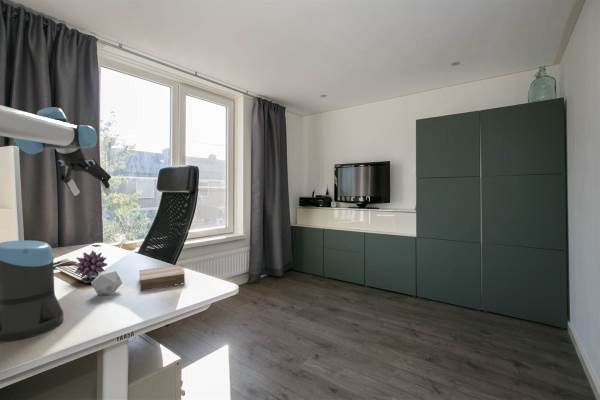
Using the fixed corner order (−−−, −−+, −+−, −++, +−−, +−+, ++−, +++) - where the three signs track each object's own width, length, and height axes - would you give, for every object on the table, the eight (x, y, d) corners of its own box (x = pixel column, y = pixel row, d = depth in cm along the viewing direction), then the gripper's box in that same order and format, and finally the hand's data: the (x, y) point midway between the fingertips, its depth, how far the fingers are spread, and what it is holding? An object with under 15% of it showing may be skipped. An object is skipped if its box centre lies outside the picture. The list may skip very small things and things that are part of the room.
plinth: (184, 283, 116) (184, 273, 116) (140, 291, 109) (140, 280, 109) (179, 274, 129) (178, 265, 129) (139, 279, 122) (139, 270, 122)
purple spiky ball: (108, 282, 125) (73, 283, 116) (100, 275, 133) (67, 275, 124) (114, 254, 125) (79, 253, 117) (106, 249, 134) (73, 248, 125)
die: (99, 301, 101) (118, 276, 103) (80, 288, 102) (100, 263, 105) (113, 301, 109) (131, 278, 111) (95, 289, 110) (113, 266, 113)
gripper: (106, 144, 117) (126, 188, 129) (43, 144, 117) (69, 188, 130) (96, 153, 111) (118, 199, 124) (29, 154, 111) (58, 199, 124)
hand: (93, 194), depth 127 cm, fingers open, 13 cm apart
